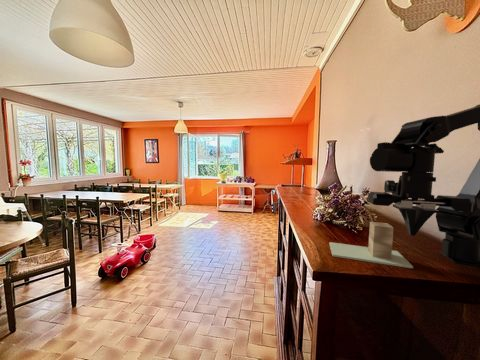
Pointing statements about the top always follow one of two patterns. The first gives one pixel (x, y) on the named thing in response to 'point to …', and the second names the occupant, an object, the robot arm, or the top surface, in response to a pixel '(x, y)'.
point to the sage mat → (366, 255)
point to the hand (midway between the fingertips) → (411, 235)
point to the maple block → (380, 240)
